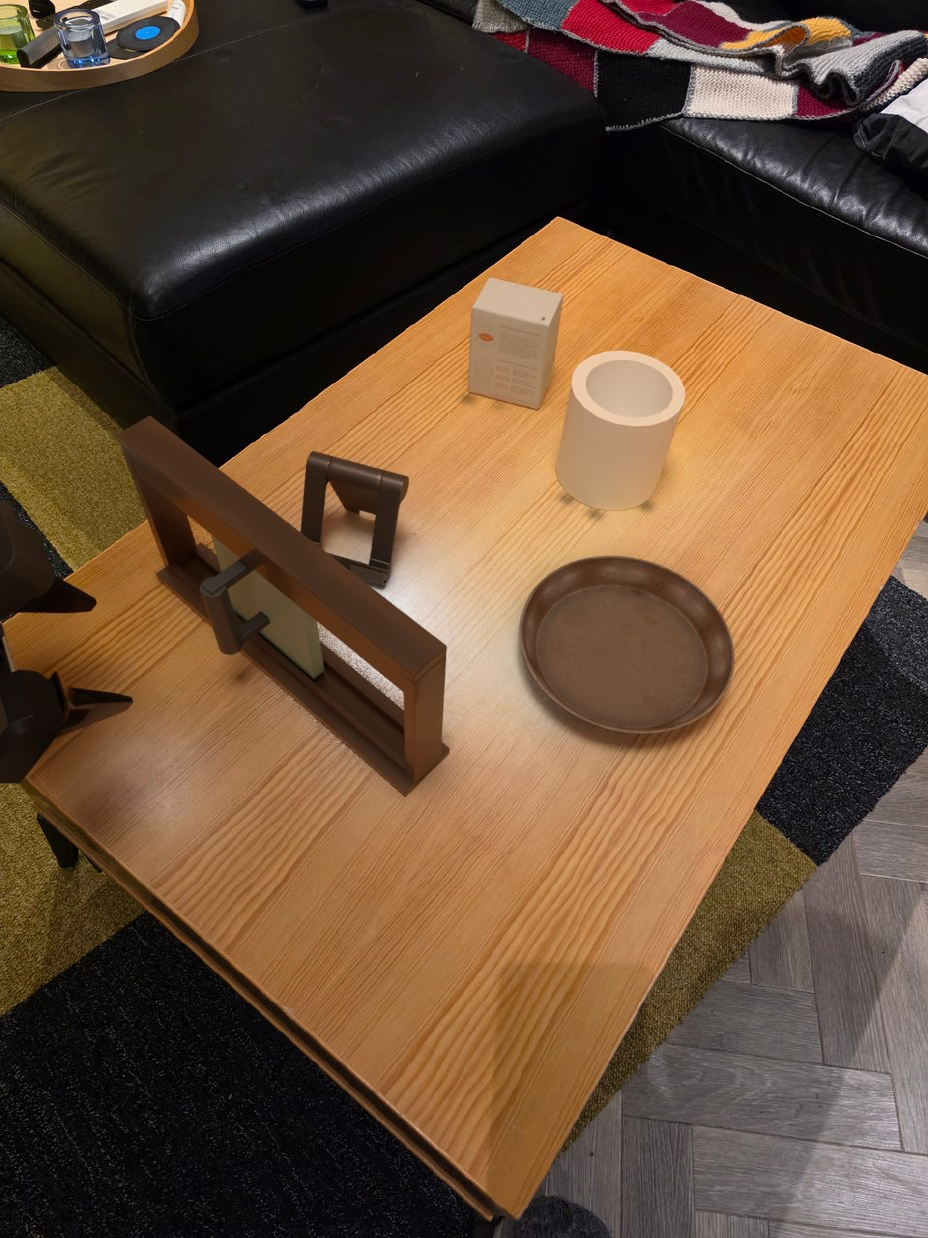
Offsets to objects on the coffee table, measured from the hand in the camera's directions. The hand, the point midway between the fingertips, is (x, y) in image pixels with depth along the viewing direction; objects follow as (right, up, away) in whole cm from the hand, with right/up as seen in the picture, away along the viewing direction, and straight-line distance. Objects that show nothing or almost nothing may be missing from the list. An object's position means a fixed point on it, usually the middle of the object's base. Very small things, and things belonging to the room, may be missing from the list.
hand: (111, 652), depth 61 cm
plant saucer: (+38, -1, +13) cm, 40 cm away
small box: (+30, +27, +32) cm, 52 cm away
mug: (+39, +18, +26) cm, 50 cm away
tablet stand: (+15, +9, +19) cm, 25 cm away
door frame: (+11, -1, +11) cm, 15 cm away
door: (+8, -1, +10) cm, 13 cm away
